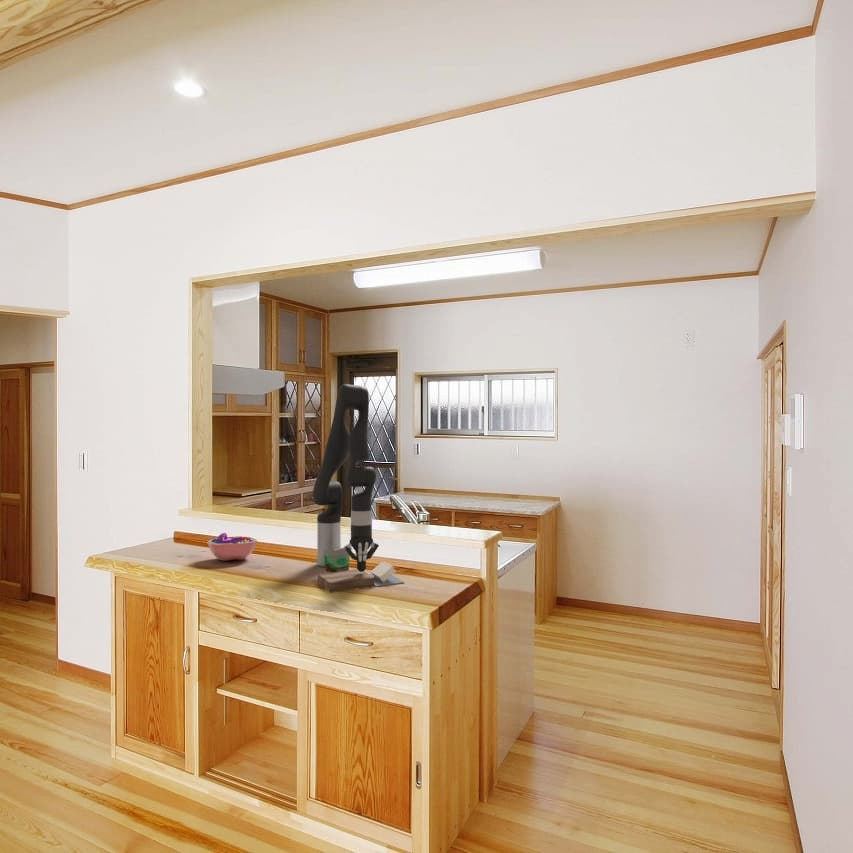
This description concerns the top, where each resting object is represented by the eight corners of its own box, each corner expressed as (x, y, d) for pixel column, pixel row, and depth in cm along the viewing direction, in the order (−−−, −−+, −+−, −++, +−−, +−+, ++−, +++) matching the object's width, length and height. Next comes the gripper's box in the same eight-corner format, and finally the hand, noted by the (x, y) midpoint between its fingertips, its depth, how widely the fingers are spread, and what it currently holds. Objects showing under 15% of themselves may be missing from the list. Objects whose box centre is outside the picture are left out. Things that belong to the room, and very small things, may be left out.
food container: (333, 579, 228) (333, 551, 228) (322, 576, 232) (322, 549, 232) (358, 572, 238) (358, 546, 238) (347, 570, 242) (347, 544, 242)
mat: (359, 576, 232) (359, 575, 232) (386, 573, 237) (386, 572, 237) (375, 587, 218) (375, 585, 218) (404, 583, 223) (404, 582, 223)
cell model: (250, 565, 250) (250, 536, 250) (200, 564, 251) (200, 536, 250) (262, 555, 267) (262, 529, 267) (215, 555, 268) (215, 529, 267)
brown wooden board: (318, 582, 224) (317, 574, 224) (360, 577, 231) (360, 569, 231) (330, 592, 211) (330, 583, 211) (374, 586, 219) (374, 577, 219)
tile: (383, 561, 232) (386, 566, 232) (370, 571, 230) (374, 576, 230) (392, 566, 224) (396, 571, 224) (379, 577, 221) (383, 582, 222)
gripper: (374, 519, 230) (374, 567, 230) (340, 522, 224) (340, 571, 224) (382, 523, 223) (382, 571, 223) (347, 525, 217) (347, 575, 218)
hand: (361, 571), depth 224 cm, fingers closed
